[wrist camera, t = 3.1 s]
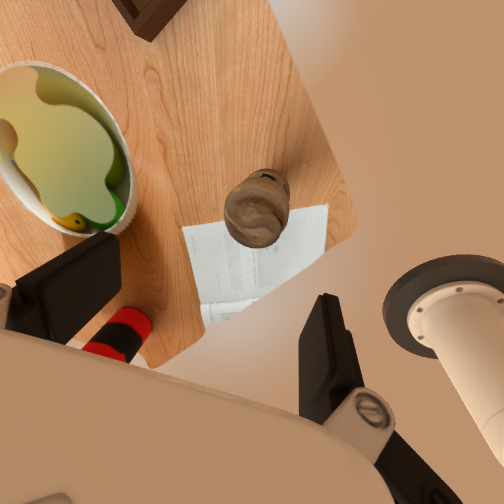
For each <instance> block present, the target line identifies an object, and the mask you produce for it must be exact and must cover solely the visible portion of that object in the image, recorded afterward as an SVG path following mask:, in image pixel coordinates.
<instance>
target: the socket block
mask: <svg viewBox="0 0 504 504" xmlns="http://www.w3.org/2000/svg"><path fill="white" fill-rule="evenodd" d="M186 1H187V0H150V1H149V3H148V4H147V5H146V6H145V8H144V9H143V10H142V12H141V13H139V12H138V10H137V9H136V7H135V6H134V4H133V3H132V1H131V0H112V2H113V3H114V5H115V6H116V8H117V9H118V10H119V12H120V13H121V15H122V16H123V18H124V19H125V21H126V22H127V24H128V25H129V26H130V28H131V30H132V31H133V33H134V34H135V35H136V36H138V37H140V38H142V39H144V40H146V41H148V42H150V43H151V42H152V40H153V39H154V38H155V37H156V36H157V35H158V33H159V32H160V31H161V30H162V29H163V28H164V26H165V25H166V24H167V23H168V22H169V21H170V19H171V18H172V17H173V16H174V15H175V14H176V13H177V11H178V10H179V9H180V8H181V7H182V6H183V4H184V3H185V2H186Z"/></svg>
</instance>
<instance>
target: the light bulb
mask: <svg viewBox="0 0 504 504" xmlns="http://www.w3.org/2000/svg"><path fill="white" fill-rule="evenodd" d="M289 198H290V190H289V185H288V182H287V180H286V179H285V177H284V176H283V175H282V174H281V173H279V172H278V171H276V170H273V169H260V170H258V171H256V172H254V173H252V174H251V175H250V176H249V177H248V178H247V179H245V180H244V181H243V182H242V183H240V184H239V185H237V186H236V187H235V188H234V189H233V190H232V191H231V192H230V193H229V195H228V196H227V198H226V201H225V207H224V220H225V224H226V227H227V229H228V231H229V233H230V235H231V236H232V237H233V238H234V239H235V240H236V241H237V242H238V243H240V244H242V245H244V246H246V247H250V248H265V247H268V246H270V245H272V244H273V243H275V242H276V241H277V239H278V238H279V236H280V234H281V232H282V231H283V230H284V228H285V227H286V225H287V222H288V217H289Z"/></svg>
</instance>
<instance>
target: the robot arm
mask: <svg viewBox="0 0 504 504" xmlns="http://www.w3.org/2000/svg"><path fill="white" fill-rule="evenodd" d="M15 282H16V286H15V287H13V288H11V287H10V286H8V285H6V284H3V283H0V504H463V503H462V501H461V500H460V499H459V498H458V496H457V495H456V494H455V493H454V492H453V490H452V489H450V487H449V486H448V485H447V484H446V483H445V482H444V481H443V480H442V479H441V478H440V477H439V476H438V475H437V474H436V473H435V472H434V471H433V470H432V469H431V468H430V466H429V465H428V464H427V463H426V462H424V460H423V459H422V458H421V457H420V456H419V455H418V454H417V453H416V452H415V451H414V450H413V449H412V448H411V447H410V446H409V445H408V444H407V443H406V442H405V440H404V439H402V437H401V436H400V435H399V434H398V433H397V432H396V431H395V430H394V428H395V424H396V423H395V417H394V414H393V412H392V409H391V408H390V406H389V405H388V403H387V402H386V401H385V400H384V399H383V398H382V397H381V396H380V395H378V394H377V393H376V392H374V391H372V390H370V389H368V388H365V386H364V382H363V378H362V374H361V370H360V366H359V362H358V358H357V354H356V350H355V346H354V342H353V338H352V334H351V332H350V331H349V330H346V329H345V325H344V320H343V316H342V312H341V307H340V303H339V299H338V297H337V296H334V295H330V294H327V293H324V294H323V296H322V295H319V296H318V298H317V300H316V302H315V304H314V307H313V309H312V311H311V313H310V315H309V317H308V320H307V322H306V324H305V326H304V328H303V331H302V333H301V335H300V338H299V416H298V415H295V414H292V413H290V412H287V411H283V410H281V409H278V408H274V407H271V406H268V405H265V404H262V403H258V402H255V401H252V400H249V399H246V398H243V397H239V396H236V395H233V394H229V393H226V392H223V391H219V390H216V389H213V388H209V387H206V386H203V385H199V384H196V383H193V382H189V381H186V380H183V379H179V378H176V377H172V376H169V375H166V374H162V373H159V372H155V371H152V370H149V369H145V368H141V367H138V366H135V365H131V364H128V363H125V362H121V361H118V360H114V359H111V358H108V357H104V356H101V355H97V354H94V353H90V352H87V351H83V350H80V349H76V348H73V347H69V346H66V343H68V341H69V340H71V339H72V338H73V337H74V336H75V335H76V334H77V333H78V332H79V331H80V330H81V329H82V328H83V327H84V326H85V325H86V324H87V323H88V322H89V321H90V320H91V319H92V318H93V317H94V316H95V315H96V314H97V313H98V312H99V311H100V310H101V309H102V308H103V307H104V306H105V305H106V304H107V303H108V302H109V301H110V300H111V299H112V298H113V297H114V296H115V295H116V294H117V293H118V292H119V291H120V289H121V286H122V281H121V262H120V244H119V239H117V237H116V235H114V234H111V233H107V232H104V231H100V232H98V233H96V234H95V235H93V236H91V237H89V238H88V239H86V240H84V241H83V242H81V243H79V244H77V245H76V246H74V247H72V248H71V249H69V250H67V251H66V252H64V253H62V254H60V255H59V256H57V257H55V258H54V259H52V260H50V261H48V262H47V263H45V264H43V265H42V266H40V267H38V268H36V269H35V270H33V271H31V272H30V273H28V274H26V275H24V276H23V277H21V278H19V279H18V280H16V281H15ZM407 325H408V327H409V330H410V332H411V334H412V335H413V337H414V338H415V339H416V340H417V341H418V342H419V343H421V344H422V345H424V346H426V347H429V348H432V349H433V350H434V352H435V353H436V355H437V357H438V359H439V360H440V362H441V364H442V366H443V367H444V369H445V371H446V373H447V374H448V376H449V378H450V379H451V381H452V383H453V385H454V386H455V388H456V390H457V392H458V393H459V395H460V397H461V398H462V400H463V402H464V404H465V406H466V407H467V409H468V411H469V413H470V414H471V416H472V418H473V419H474V421H475V423H476V425H477V426H478V428H479V430H480V432H481V433H482V435H483V437H484V438H485V440H486V442H487V443H488V445H489V447H490V449H491V450H492V452H493V454H494V455H495V457H496V458H497V459H498V461H499V462H500V463H501V464H502V466H503V467H504V294H503V293H502V292H500V291H499V290H498V289H497V288H495V287H493V286H491V285H489V284H486V283H482V282H478V281H455V282H449V283H446V284H443V285H439V286H437V287H435V288H433V289H430V290H429V291H427V292H426V293H424V294H422V295H421V296H420V297H419V298H418V299H417V300H416V301H415V302H414V303H413V305H412V306H411V308H410V310H409V312H408V316H407Z"/></svg>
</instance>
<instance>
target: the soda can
mask: <svg viewBox="0 0 504 504" xmlns="http://www.w3.org/2000/svg"><path fill="white" fill-rule="evenodd" d="M151 330H152V326H151V323H150V321H149V319H148V318H147V316H146V315H145V314H143V313H142V312H140V311H138V310H136V309H133V308H122V309H120V310H118V311H117V312H116V313H115V314H114V315H113V316H112V317H111V318H110V319H109V320H108V322H107V323H106V324H105V325H104V326H103V327H102V328H101V329H100V330H99V331H98V332H97V333H96V334H95V335H94V336H93V337H92V338H91V339H90V341H89V342H88V343H87V344H86V345H85V346H84V347H83V348H82V349H81V350H83V351H87V352H90V353H94V354H97V355H101V356H104V357H108V358H111V359H114V360H118V361H121V362H125V363H128V364H129V363H130V362H131V360H132V359H133V358H134V356H135V355H136V353H137V352H138V350H139V349H140V347H141V346H142V345H143V343H144V342H145V340H146V339H147V337H148V336H149V335H150V333H151Z"/></svg>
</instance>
